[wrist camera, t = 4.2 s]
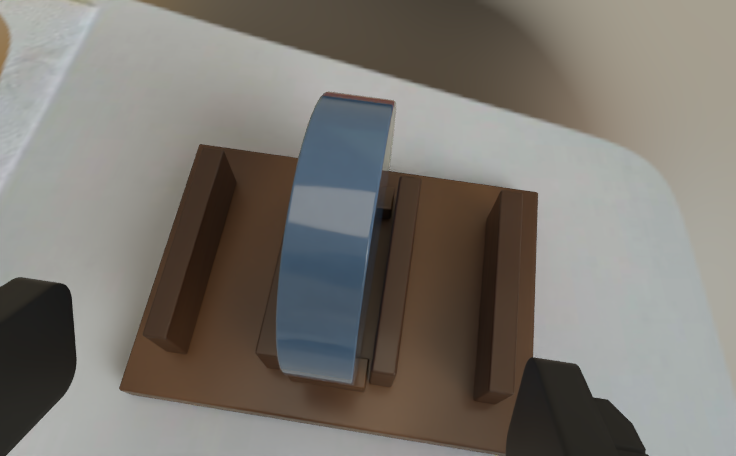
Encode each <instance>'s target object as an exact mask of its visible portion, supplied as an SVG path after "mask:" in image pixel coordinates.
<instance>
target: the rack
mask: <svg viewBox="0 0 736 456" xmlns="http://www.w3.org/2000/svg"><path fill="white" fill-rule="evenodd" d="M297 162H298V158H293V157H286V156H279V155H272V154H265V153H258V152H251V151H244V150H237V149H230V148H223V147H216V146H209V145H202V144H200V145H199V147H198V150H197V153H196V157H195V160H194V163H193V166H192V169H191V172H190V175H189V178H188V181H187V184H186V187H185V190H184V193H183V196H182V199H181V202H180V205H179V208H178V211H177V214H176V217H175V220H174V223H173V226H172V229H171V232H170V235H169V239H168V242H167V245H166V248H165V251H164V254H163V257H162V260H161V263H160V266H159V269H158V272H157V275H156V278H155V281H154V284H153V287H152V290H151V293H150V296H149V299H148V302H147V305H146V308H145V311H144V314H143V317H142V320H141V324H140V327H139V330H138V333H137V336H136V339H135V342H134V345H133V348H132V351H131V354H130V357H129V360H128V363H127V366H126V369H125V372H124V375H123V378H122V381H121V384H120V387H119V389H120V390H121V391H124V392H126V393H129V394H132V395H137V396H143V397H149V398H155V399H161V400H167V401H173V402H179V403H185V404H191V405H197V406H204V407H210V408H216V409H222V410H228V411H234V412H240V413H246V414H252V415H258V416H264V417H270V418H276V419H282V420H288V421H294V422H300V423H306V424H312V425H319V426H325V427H331V428H337V429H343V430H349V431H355V432H361V433H367V434H373V435H379V436H385V437H391V438H397V439H403V440H409V441H415V442H421V443H428V444H434V445H440V446H446V447H452V448H458V449H464V450H470V451H476V452H482V453H488V454H494V455H500V456H506V441H507V434H508V429H509V425H510V422H511V418H512V414H513V410H514V406H515V402H516V399H517V395H518V391H519V387H520V383H521V380H522V376H523V372H524V368H525V365H526V363H527V361H528V360H529V358H531V357H533V338H534V306H535V274H536V241H537V209H538V193H537V192H531V191H524V190H517V189H510V188H503V187H496V186H489V185H482V184H475V183H468V182H461V181H454V180H447V179H440V178H433V177H426V176H419V175H412V174H405V173H398V172H391V171H389V176H388V183H387V191H386V198H385V205H384V212H383V219H382V226H381V233H380V240H379V247H378V253H377V260H376V266H375V273H374V279H373V286H372V292H371V298H370V304H369V311H368V317H367V323H366V328H365V334H364V340H363V346H362V351H361V356H360V362H359V367H358V371H357V376H356V380H355V383H354V384H353V385H345V384H339V383H332V382H326V381H320V380H314V379H308V378H301V377H295V376H289V375H285V374H284V373H282V372H281V369H280V367H279V363H278V358H277V350H276V303H277V289H278V277H279V268H280V259H281V250H282V243H283V236H284V229H285V223H286V217H287V211H288V205H289V200H290V195H291V189H292V184H293V180H294V175H295V171H296V166H297Z"/></svg>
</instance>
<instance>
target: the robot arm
mask: <svg viewBox="0 0 736 456" xmlns="http://www.w3.org/2000/svg"><path fill="white" fill-rule="evenodd" d="M75 370H76V346H75V334H74V321H73V308H72V297H71V293H70V290H69V288H68V287H67V286H66V285H64V284H61V283H55V282H49V281H42V280H36V279H29V278H23V277H18V278H15V279H13V280H11V281H9V282H8V283H6V284H5V285H3V286H1V287H0V456H6V455H7V454H8V453H9V452H10V451H11V450H12V449H13V448H14V447H15V446H16V445H17V444H18V443H19V441H20V440H21V439H22V438H23V437H24V436H25V435H26V434H27V433H28V432H29V431H30V430H31V429H32V428H33V427H34V426H35V425H36V424H37V423H38V422H39V421H40V420H41V419H42V418H43V417H44V415H45V414H46V413H47V412H48V411H49V410H50V409H51V408H52V407H53V406H54V405H55V404H56V403H57V402H58V401H59V400H60V399H61V398H62V397H63V396H64V394H65V393H66V392H67V390H68V388H69V386H70V384H71V382H72V380H73V377H74V374H75ZM645 450H646V449H645V447H644V445H643V444H642V442H641V440H640V438H639V436H638V434H637V432H636V430H635V428H634V426H633V424H632V423H631V422H630V421H629V420H628V419H627V418H626V417H625V416H624V415H623V414H622V413H621V412H620V411H619V410H618V409H617V408H616V407H615V406H614V405H613V404H612V403H611V402H610V401H608V400H606V399H600V398H593V396H592V394H591V392H590V390H589V388H588V385H587V383H586V381H585V379H584V377H583V374H582V372H581V370H580V368H579V366H578V365H576V364H573V363H566V362H560V361H553V360H547V359H540V358H534V357H531V358H529V360H528V361H527V363H526V365H525V368H524V372H523V376H522V380H521V383H520V387H519V391H518V395H517V399H516V402H515V406H514V410H513V414H512V418H511V422H510V425H509V429H508V434H507V441H506V456H649V455H647V454H645Z"/></svg>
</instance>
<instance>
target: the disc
mask: <svg viewBox="0 0 736 456" xmlns="http://www.w3.org/2000/svg"><path fill="white" fill-rule="evenodd" d="M395 116H396V102H395V101H394V100H388V99H380V98H373V97H366V96H358V95H351V94H344V93H337V92H326V93H324V94H323V95H322V96H321V97H320V99H319V100H318V102H317V104H316V106H315V108H314V110H313V113H312V115H311V118H310V121H309V123H308V126H307V129H306V132H305V136H304V139H303V142H302V146H301V150H300V154H299V158H298V162H297V166H296V171H295V175H294V180H293V184H292V189H291V195H290V200H289V205H288V211H287V217H286V223H285V229H284V236H283V243H282V250H281V259H280V268H279V277H278V289H277V303H276V350H277V358H278V363H279V367H280V369H281V372H282V373H284V374H285V375H289V376H295V377H301V378H308V379H314V380H320V381H326V382H332V383H339V384H345V385H353V384H354V383H355V380H356V376H357V371H358V367H359V362H360V356H361V351H362V346H363V340H364V334H365V328H366V323H367V317H368V311H369V304H370V298H371V292H372V286H373V279H374V273H375V266H376V260H377V253H378V247H379V240H380V233H381V226H382V219H383V212H384V205H385V198H386V191H387V183H388V176H389V168H390V161H391V153H392V144H393V136H394V127H395Z"/></svg>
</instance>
